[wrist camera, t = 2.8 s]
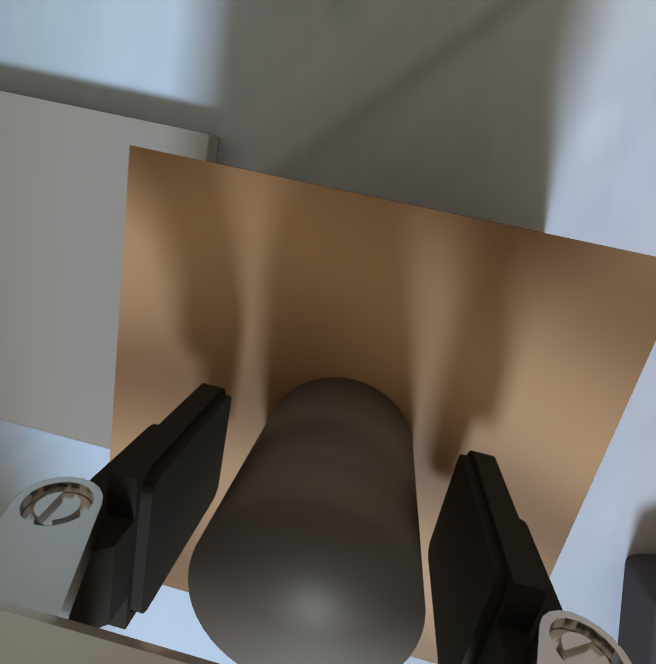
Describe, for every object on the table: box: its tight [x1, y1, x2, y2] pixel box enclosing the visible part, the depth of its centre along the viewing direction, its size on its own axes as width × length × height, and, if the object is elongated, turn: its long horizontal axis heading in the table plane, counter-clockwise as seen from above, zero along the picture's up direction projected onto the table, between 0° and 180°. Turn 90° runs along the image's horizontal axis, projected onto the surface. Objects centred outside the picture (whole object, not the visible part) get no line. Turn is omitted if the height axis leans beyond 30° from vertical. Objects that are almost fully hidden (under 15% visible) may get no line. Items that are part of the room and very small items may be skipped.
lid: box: [110, 145, 656, 664], centre depth 11 cm, size 13×13×7 cm
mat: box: [0, 91, 219, 449], centre depth 20 cm, size 15×15×1 cm
